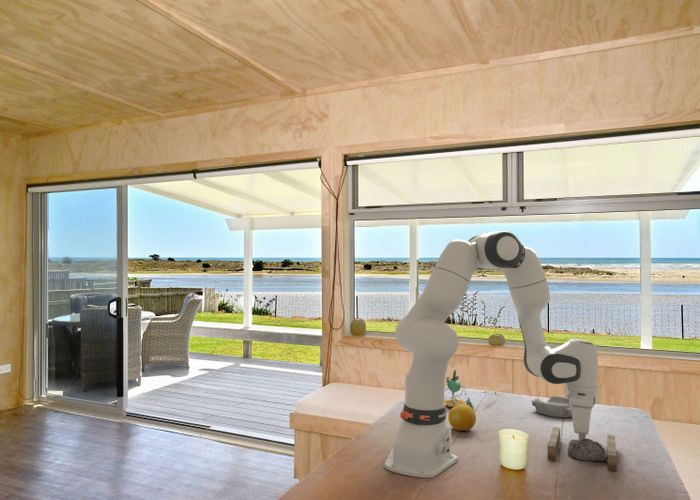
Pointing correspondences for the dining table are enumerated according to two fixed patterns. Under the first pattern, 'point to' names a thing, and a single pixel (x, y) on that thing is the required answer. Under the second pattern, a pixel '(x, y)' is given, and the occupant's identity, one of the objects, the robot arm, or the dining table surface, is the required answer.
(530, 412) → the dining table surface
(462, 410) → the fruit
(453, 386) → the green and yellow piece
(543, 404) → the dish
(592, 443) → the rock
